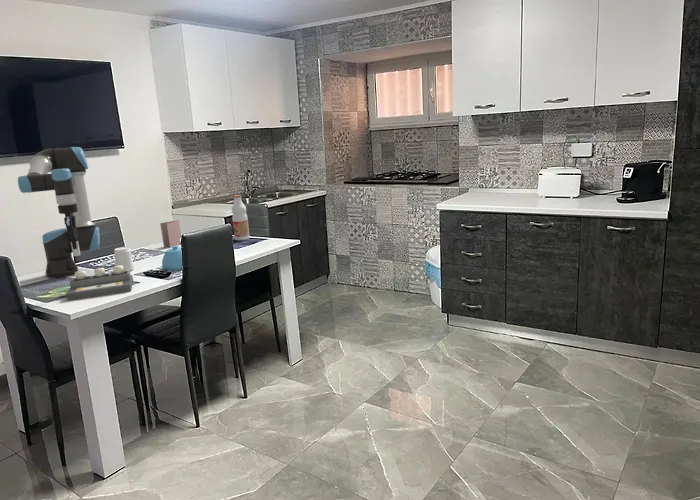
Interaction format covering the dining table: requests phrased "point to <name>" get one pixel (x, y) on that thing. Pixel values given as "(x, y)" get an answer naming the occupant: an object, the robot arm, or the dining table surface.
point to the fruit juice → (240, 219)
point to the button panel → (100, 285)
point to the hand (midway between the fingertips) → (76, 255)
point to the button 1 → (80, 274)
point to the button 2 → (118, 269)
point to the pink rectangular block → (171, 233)
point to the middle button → (99, 272)
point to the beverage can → (124, 258)
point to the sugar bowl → (172, 259)
